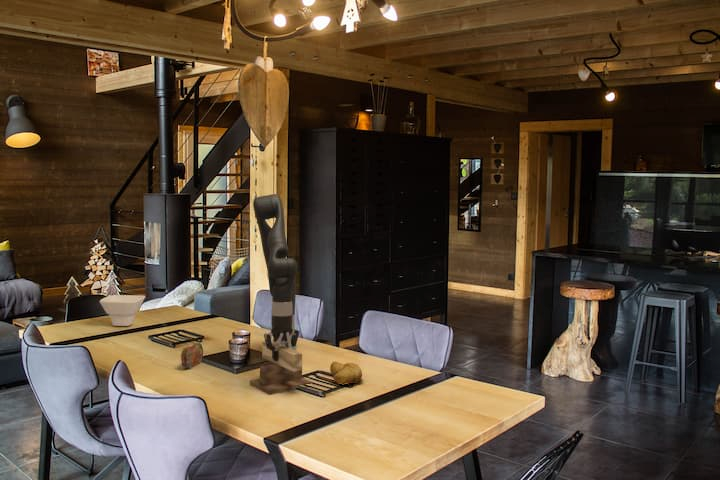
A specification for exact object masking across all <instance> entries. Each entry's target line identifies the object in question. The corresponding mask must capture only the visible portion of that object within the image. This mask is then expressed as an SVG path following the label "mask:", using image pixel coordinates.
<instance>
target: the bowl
mask: <svg viewBox="0 0 720 480" xmlns="http://www.w3.org/2000/svg"><path fill="white" fill-rule="evenodd" d="M145 298H146V296H145V295H138V294H137V295H135V294H131V295H130V294H126V295H125V294H112V295H108V296H105V297H103V298H102V299H100V300H99V304H100V305H101V306H102V307H101V308H103V310H104V311H105V313H106V314H107V315H109V318H110V321H111V324H112V326H115V327H128V326H131V325H133V324H134V321H135V317H136V313H137V312H139V309H140V308H141V305H142V304H143V302H144V300H145Z"/></svg>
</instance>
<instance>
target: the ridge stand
mask: <svg viewBox="0 0 720 480" xmlns="http://www.w3.org/2000/svg"><path fill="white" fill-rule="evenodd" d="M311 383H313V381H311V380H310V379H307V378H304V377H303V369H302V370H300V371H294V372H293V371H291V370H289V369H286V368H284V367H282V366H280V365H277V364H275V363H272V364H264V365H260V366H259V378H257V379H256V378H255V379H251V380H249V385H250V386H252V387H253V388H256V389H257V390H260V391H261V392H263V393H265V394H267V395H275V394H276V395H277V394H279V393H285V392H290V391H294V390H295V391H296V390H297V389H296V388H297V387H298V386H300V385H306V384H311Z"/></svg>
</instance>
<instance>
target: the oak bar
mask: <svg viewBox="0 0 720 480" xmlns="http://www.w3.org/2000/svg"><path fill="white" fill-rule="evenodd" d="M261 347H262V349H261V350H262V351H261V352H262V353H261V354H262V355H261V356H262V359H264V360H267V361H268V362H272V364H277V365H280V366H282V367H284V368H286V369H289V370H291V371H293V372H294V371H300V370H302V371H303V352H299V351H297V350H296V351H295V350H293V349H290V348H288V347H285V346H282V345H279V346H278V350H277V351H278V361H274V360H273V359H272V350H270V349H267V346H266V342H265V341H262V344H261Z"/></svg>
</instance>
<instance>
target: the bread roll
mask: <svg viewBox="0 0 720 480" xmlns="http://www.w3.org/2000/svg"><path fill="white" fill-rule="evenodd" d="M329 371H330V374H331V375H332V377H333V381H334V382H335V381H336V382H340V383H350V382H354V383H355V384H357V383H359V381H360V380H361V379H362V378H363V372H362V369H361V367H360V366H359V364H357V363H354V362H347V363H344V364H343V363H341V362H339V361H333V362H331V364H330V366H329Z"/></svg>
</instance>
